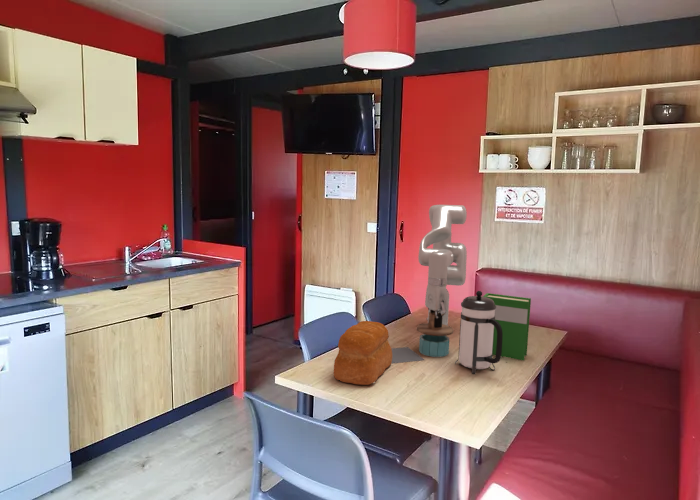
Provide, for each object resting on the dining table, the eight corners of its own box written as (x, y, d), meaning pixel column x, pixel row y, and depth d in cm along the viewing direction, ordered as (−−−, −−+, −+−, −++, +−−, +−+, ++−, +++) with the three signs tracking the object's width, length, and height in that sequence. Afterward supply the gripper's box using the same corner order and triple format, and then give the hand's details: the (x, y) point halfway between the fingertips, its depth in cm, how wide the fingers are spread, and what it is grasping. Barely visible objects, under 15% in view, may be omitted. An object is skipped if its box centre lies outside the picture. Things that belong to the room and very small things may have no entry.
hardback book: (526, 355, 200) (531, 298, 196) (523, 360, 193) (528, 302, 190) (483, 347, 208) (487, 293, 205) (479, 352, 201) (483, 296, 198)
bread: (329, 381, 168) (329, 333, 166) (357, 356, 192) (357, 314, 189) (371, 388, 162) (372, 339, 160) (395, 362, 186) (395, 318, 183)
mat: (372, 351, 199) (372, 350, 199) (407, 348, 204) (407, 346, 204) (387, 365, 184) (387, 363, 184) (425, 361, 189) (425, 360, 189)
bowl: (414, 349, 203) (414, 334, 202) (439, 347, 207) (440, 332, 206) (427, 359, 192) (428, 343, 191) (454, 356, 195) (454, 341, 195)
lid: (410, 326, 202) (411, 310, 202) (442, 324, 207) (442, 308, 206) (426, 337, 188) (427, 319, 187) (460, 334, 193) (461, 317, 192)
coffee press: (450, 372, 179) (455, 293, 175) (458, 358, 194) (462, 285, 190) (499, 380, 172) (505, 298, 168) (503, 365, 187) (508, 289, 183)
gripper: (419, 278, 202) (417, 320, 204) (439, 286, 186) (436, 332, 188) (435, 277, 204) (433, 319, 207) (456, 285, 189) (453, 330, 191)
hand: (435, 325), depth 197 cm, fingers closed on lid, 4 cm apart
